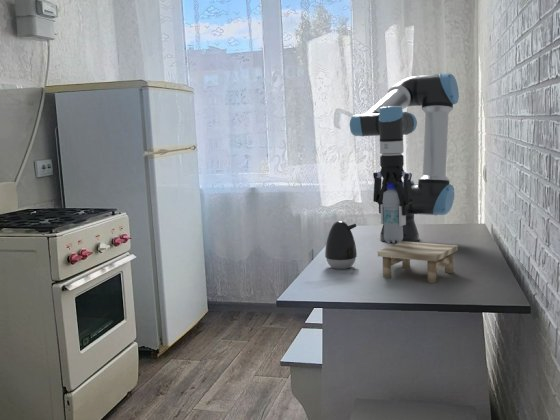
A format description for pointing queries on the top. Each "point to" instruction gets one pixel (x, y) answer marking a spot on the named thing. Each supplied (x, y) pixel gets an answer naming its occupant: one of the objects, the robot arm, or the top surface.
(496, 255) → the top surface
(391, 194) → the bottle
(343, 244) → the pump dispenser
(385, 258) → the footstool
